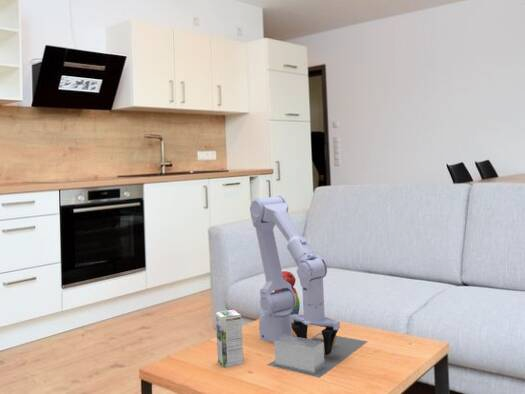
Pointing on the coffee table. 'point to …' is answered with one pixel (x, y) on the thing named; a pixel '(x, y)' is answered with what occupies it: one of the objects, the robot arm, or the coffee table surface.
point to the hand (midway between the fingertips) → (315, 351)
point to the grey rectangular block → (299, 353)
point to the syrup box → (229, 338)
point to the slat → (320, 338)
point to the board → (333, 354)
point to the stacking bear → (291, 279)
